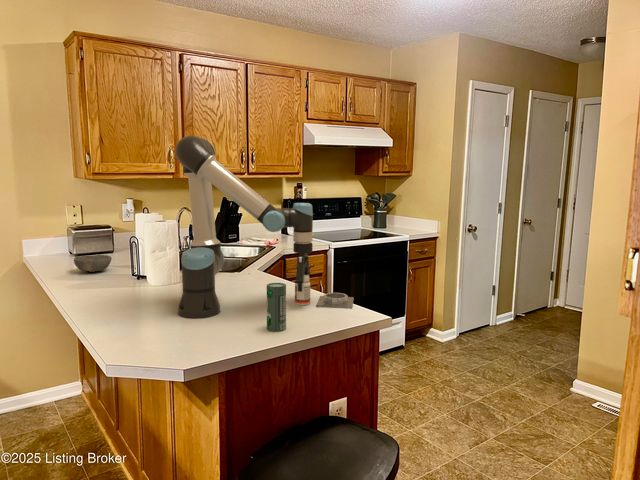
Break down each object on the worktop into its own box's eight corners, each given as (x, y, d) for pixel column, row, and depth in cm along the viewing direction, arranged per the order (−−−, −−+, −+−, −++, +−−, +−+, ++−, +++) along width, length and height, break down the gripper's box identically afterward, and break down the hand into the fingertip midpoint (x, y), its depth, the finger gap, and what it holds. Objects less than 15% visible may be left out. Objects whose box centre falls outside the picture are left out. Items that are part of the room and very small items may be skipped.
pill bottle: (294, 301, 191) (294, 274, 189) (309, 301, 191) (309, 274, 190) (295, 305, 185) (295, 277, 183) (310, 305, 185) (311, 277, 184)
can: (272, 324, 161) (272, 282, 159) (288, 327, 159) (288, 283, 157) (264, 330, 155) (263, 285, 153) (280, 332, 153) (280, 287, 151)
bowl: (111, 274, 238) (110, 258, 237) (72, 276, 232) (71, 260, 231) (112, 267, 255) (112, 253, 254) (76, 269, 248) (75, 254, 247)
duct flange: (352, 308, 182) (352, 300, 182) (316, 306, 183) (316, 299, 183) (353, 299, 196) (353, 292, 195) (320, 297, 197) (320, 290, 197)
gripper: (308, 247, 172) (307, 303, 175) (316, 238, 197) (316, 287, 199) (287, 246, 173) (288, 302, 176) (298, 238, 197) (298, 287, 200)
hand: (302, 295), depth 188 cm, fingers open, 13 cm apart
